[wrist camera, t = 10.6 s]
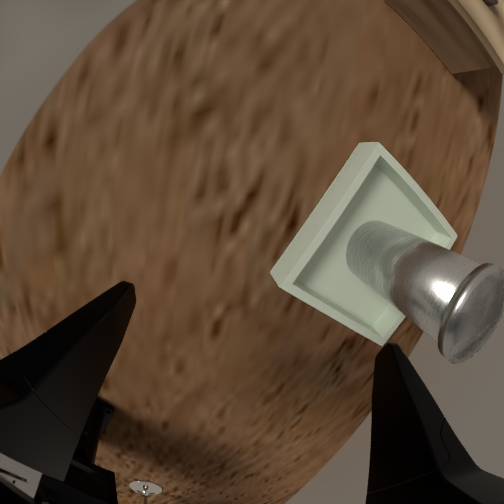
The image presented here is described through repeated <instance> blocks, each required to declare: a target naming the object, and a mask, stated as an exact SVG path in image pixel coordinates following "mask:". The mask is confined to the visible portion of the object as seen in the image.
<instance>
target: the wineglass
mask: <svg viewBox="0 0 504 504" xmlns="http://www.w3.org/2000/svg"><path fill="white" fill-rule="evenodd" d="M129 486H130V488H131V489H133V490H134V491H136V492H139V493H142V494H143V496H144V504H147V497H148V495H153V494H159V493H161V492H162V488H161V487H160V486H159V485H157V484H154V483H151V482H147V481H133V482H131V483H130V484H129Z"/></svg>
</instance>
